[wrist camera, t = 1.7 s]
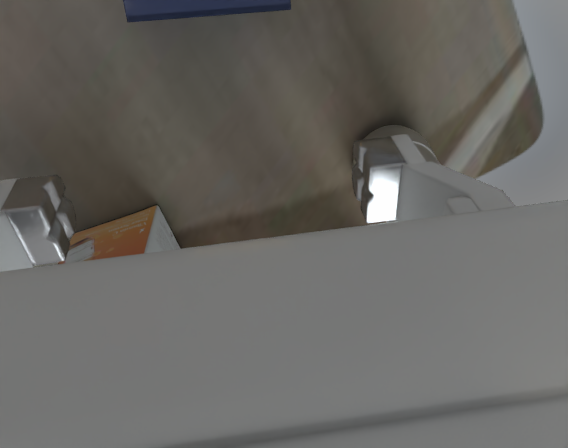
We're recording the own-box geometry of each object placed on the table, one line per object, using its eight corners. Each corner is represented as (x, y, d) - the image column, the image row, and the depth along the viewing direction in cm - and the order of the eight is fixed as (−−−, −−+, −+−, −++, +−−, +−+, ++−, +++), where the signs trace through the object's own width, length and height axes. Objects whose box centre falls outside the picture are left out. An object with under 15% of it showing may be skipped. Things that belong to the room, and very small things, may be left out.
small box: (158, 202, 41) (141, 274, 32) (185, 254, 44) (176, 334, 35) (70, 232, 42) (29, 312, 33) (102, 282, 44) (72, 368, 35)
